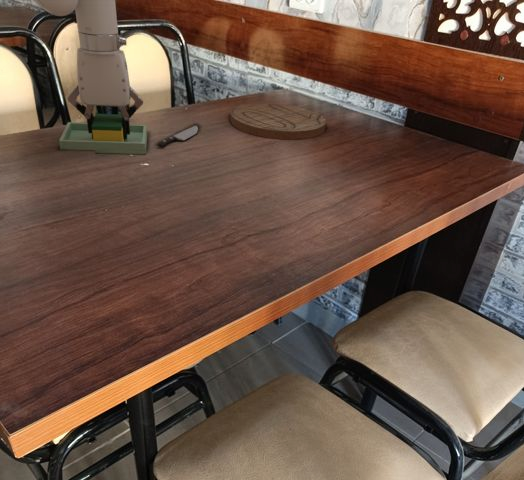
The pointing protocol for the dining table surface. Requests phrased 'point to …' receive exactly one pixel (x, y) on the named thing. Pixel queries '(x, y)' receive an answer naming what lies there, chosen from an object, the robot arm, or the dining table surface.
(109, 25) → the robot arm
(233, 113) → the trivet
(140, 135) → the tray
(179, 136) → the chef's knife
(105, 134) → the sponge
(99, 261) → the dining table surface
